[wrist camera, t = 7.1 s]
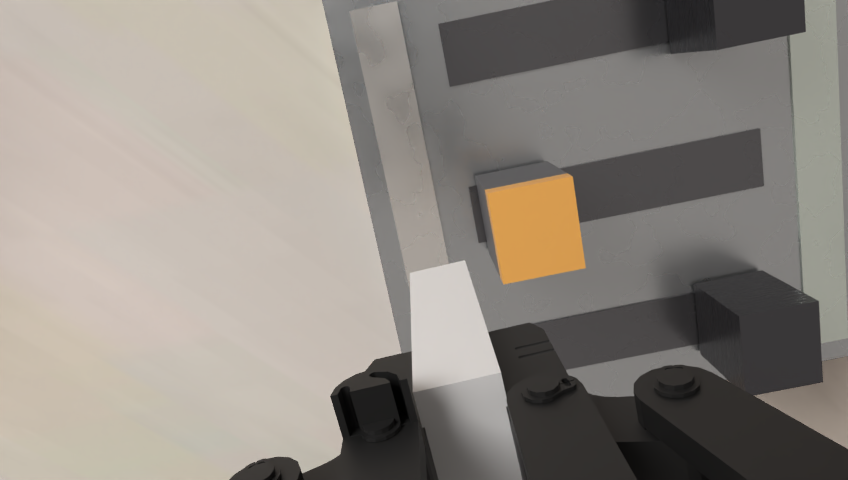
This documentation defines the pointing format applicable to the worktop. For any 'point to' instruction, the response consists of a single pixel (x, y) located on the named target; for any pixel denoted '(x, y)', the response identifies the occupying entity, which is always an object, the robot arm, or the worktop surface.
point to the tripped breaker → (531, 221)
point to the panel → (620, 171)
